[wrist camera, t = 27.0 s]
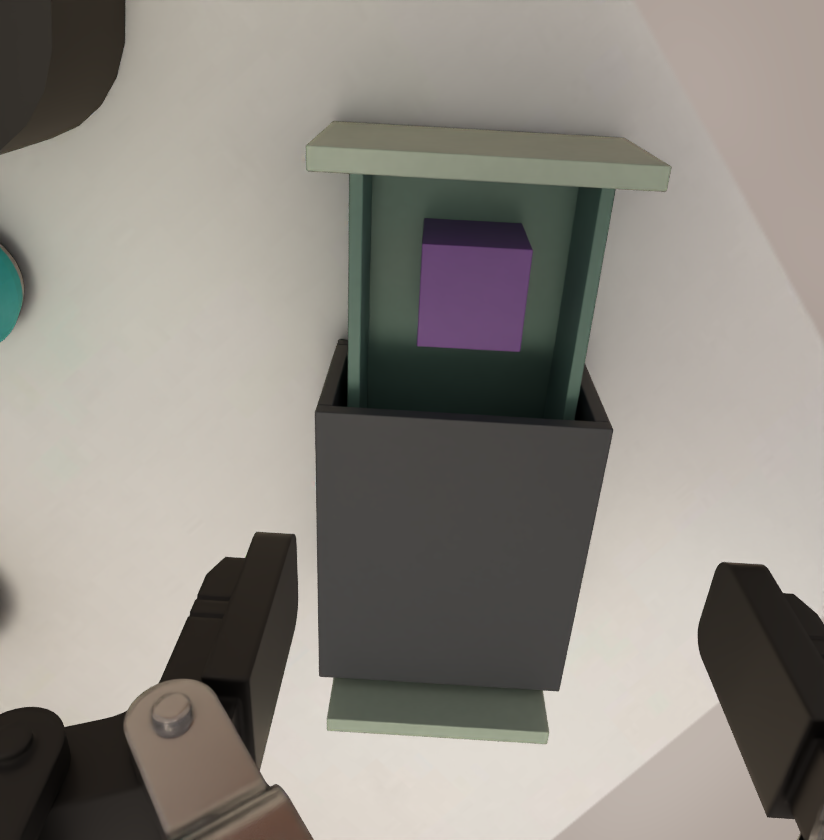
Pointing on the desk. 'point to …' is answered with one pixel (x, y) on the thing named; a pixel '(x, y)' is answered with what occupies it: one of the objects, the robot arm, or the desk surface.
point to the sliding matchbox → (469, 368)
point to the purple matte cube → (473, 284)
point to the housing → (452, 539)
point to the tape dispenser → (55, 65)
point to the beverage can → (9, 293)
